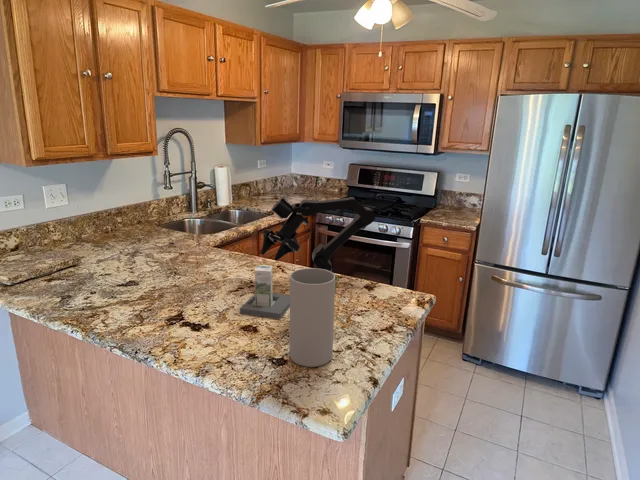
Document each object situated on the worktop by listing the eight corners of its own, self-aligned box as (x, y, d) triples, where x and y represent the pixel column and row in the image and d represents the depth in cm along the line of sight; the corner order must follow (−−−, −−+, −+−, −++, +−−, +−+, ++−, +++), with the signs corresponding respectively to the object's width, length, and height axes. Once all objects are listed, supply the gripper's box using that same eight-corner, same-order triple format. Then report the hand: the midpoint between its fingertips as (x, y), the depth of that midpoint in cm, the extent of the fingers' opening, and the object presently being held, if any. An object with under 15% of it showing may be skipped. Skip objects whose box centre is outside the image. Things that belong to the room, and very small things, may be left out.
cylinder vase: (282, 362, 121) (282, 280, 114) (299, 341, 132) (300, 265, 125) (323, 372, 117) (326, 287, 110) (338, 350, 128) (341, 272, 121)
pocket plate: (294, 300, 161) (294, 295, 161) (280, 319, 146) (280, 313, 146) (257, 295, 165) (257, 290, 164) (240, 313, 150) (239, 308, 149)
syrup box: (272, 301, 159) (272, 264, 155) (271, 308, 154) (270, 270, 150) (257, 300, 159) (257, 264, 155) (255, 307, 154) (254, 269, 150)
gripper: (316, 242, 170) (294, 274, 166) (288, 232, 183) (267, 261, 179) (301, 226, 162) (277, 259, 159) (273, 217, 176) (251, 247, 172)
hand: (268, 257), depth 167 cm, fingers open, 9 cm apart
